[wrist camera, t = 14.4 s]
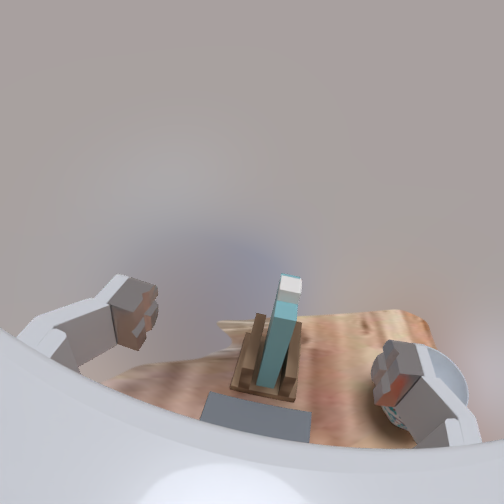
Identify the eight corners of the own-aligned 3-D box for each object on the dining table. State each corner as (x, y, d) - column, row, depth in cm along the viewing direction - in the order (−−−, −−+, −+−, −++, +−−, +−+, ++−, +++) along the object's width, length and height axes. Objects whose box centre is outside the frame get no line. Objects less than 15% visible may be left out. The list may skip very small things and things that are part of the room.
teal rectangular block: (255, 385, 39) (276, 305, 31) (265, 341, 46) (283, 262, 39) (273, 388, 38) (299, 310, 31) (280, 344, 46) (302, 266, 39)
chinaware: (391, 468, 28) (423, 443, 24) (343, 390, 40) (362, 357, 36) (455, 426, 33) (483, 397, 29) (408, 366, 45) (429, 334, 41)
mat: (183, 468, 27) (183, 467, 27) (209, 392, 37) (209, 391, 37) (303, 491, 26) (303, 491, 26) (310, 413, 36) (311, 412, 36)
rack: (230, 389, 38) (234, 365, 36) (245, 336, 48) (250, 311, 45) (293, 402, 38) (304, 379, 35) (299, 347, 47) (308, 323, 45)
